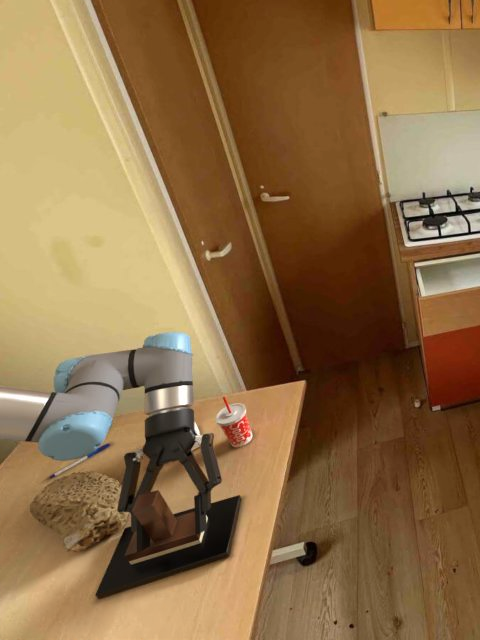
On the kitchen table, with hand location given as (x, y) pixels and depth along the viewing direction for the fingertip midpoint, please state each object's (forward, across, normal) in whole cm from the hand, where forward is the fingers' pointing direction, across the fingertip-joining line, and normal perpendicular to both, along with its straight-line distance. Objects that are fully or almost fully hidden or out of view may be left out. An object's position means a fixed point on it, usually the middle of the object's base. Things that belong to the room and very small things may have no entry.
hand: (172, 540), depth 76 cm
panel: (+2, +2, -6) cm, 7 cm away
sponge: (-7, +21, -16) cm, 27 cm away
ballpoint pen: (-18, +29, -27) cm, 44 cm away
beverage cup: (-14, -5, -23) cm, 28 cm away
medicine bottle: (-17, +8, -25) cm, 31 cm away
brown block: (+1, +3, -6) cm, 6 cm away
